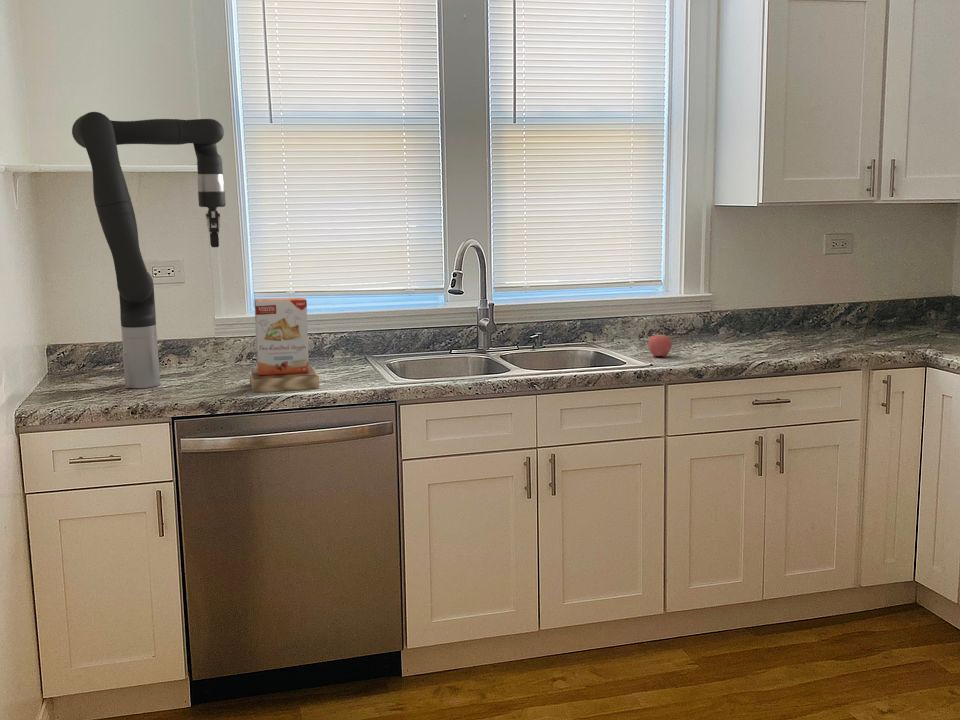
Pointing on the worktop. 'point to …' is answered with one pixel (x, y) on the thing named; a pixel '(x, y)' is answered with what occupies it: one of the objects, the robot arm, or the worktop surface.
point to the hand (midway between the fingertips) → (214, 246)
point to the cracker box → (281, 336)
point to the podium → (284, 381)
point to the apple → (659, 345)
